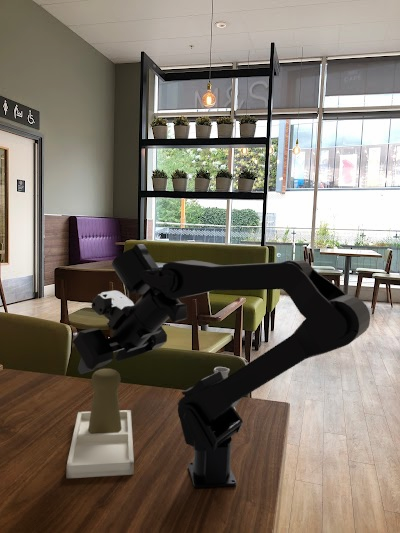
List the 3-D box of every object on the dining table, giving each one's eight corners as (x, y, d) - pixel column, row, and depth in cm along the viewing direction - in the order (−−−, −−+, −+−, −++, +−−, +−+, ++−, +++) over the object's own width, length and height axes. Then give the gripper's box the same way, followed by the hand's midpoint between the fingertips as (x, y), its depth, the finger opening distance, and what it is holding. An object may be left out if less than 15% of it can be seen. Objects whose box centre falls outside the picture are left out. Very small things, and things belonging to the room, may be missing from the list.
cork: (119, 436, 79) (121, 376, 78) (85, 436, 79) (86, 375, 78) (123, 421, 85) (124, 365, 84) (91, 421, 85) (92, 364, 84)
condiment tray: (133, 474, 69) (133, 462, 69) (66, 478, 67) (66, 465, 67) (130, 419, 88) (130, 410, 88) (78, 421, 86) (78, 411, 86)
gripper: (157, 273, 85) (113, 321, 92) (82, 282, 69) (36, 339, 76) (189, 321, 82) (141, 366, 89) (118, 341, 66) (66, 394, 73)
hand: (99, 365), depth 82 cm, fingers open, 9 cm apart
